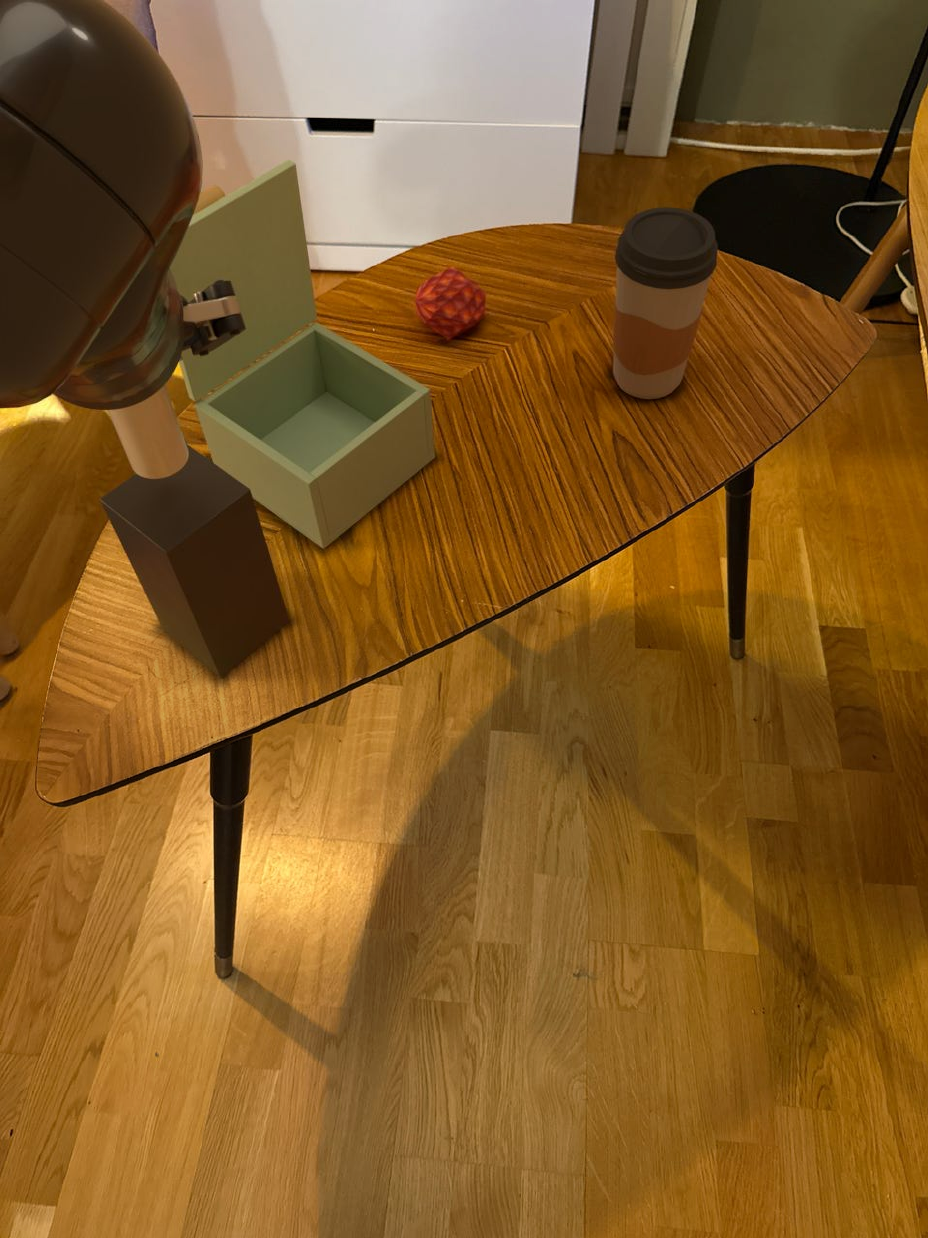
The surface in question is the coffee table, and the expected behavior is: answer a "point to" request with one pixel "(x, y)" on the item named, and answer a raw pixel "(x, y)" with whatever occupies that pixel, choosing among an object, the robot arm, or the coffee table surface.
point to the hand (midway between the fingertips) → (124, 362)
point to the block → (200, 560)
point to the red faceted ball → (450, 303)
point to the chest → (319, 431)
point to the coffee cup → (659, 297)
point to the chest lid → (247, 270)
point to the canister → (151, 436)
